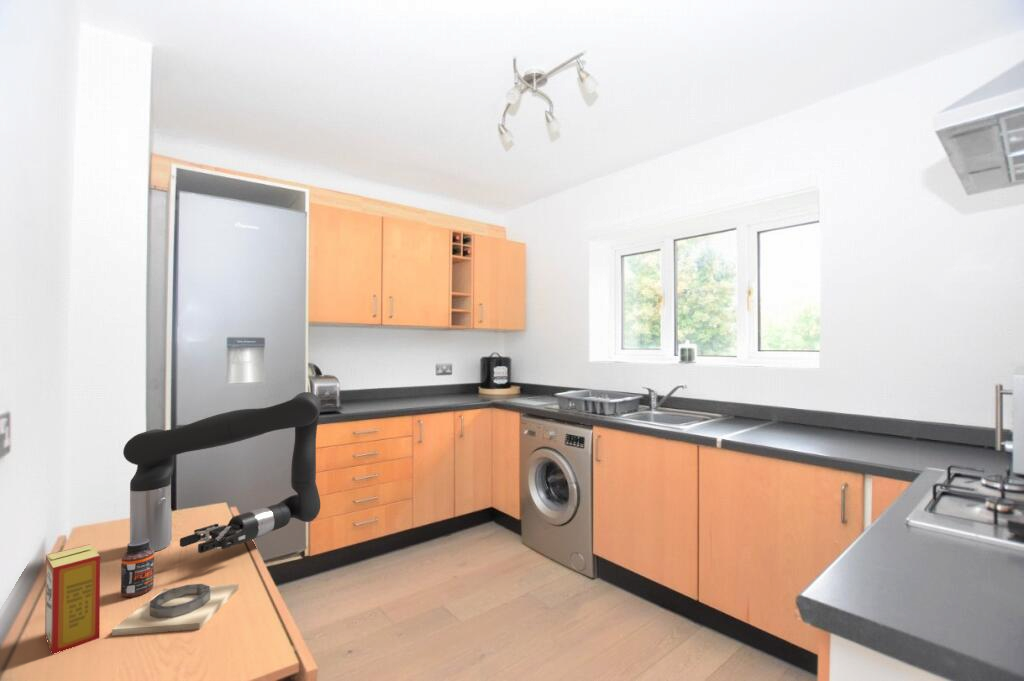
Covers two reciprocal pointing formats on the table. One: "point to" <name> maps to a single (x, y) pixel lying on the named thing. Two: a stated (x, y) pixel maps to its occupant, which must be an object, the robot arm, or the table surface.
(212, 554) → the table surface
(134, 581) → the supplement bottle
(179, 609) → the ring collar
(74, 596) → the baking soda box
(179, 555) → the table surface
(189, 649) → the table surface
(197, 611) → the birch board
